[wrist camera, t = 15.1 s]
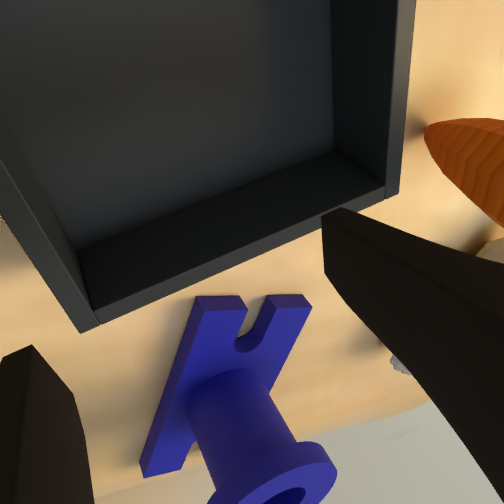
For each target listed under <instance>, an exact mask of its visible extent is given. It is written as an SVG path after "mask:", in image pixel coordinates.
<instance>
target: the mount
mask: <svg viewBox="0 0 504 504" xmlns="http://www.w3.org/2000/svg"><path fill="white" fill-rule="evenodd" d="M311 309H312V306H311V305H310V303H309V302H308V301H307V300H306V298H305V297H304V296H303V295H267V297H266V299H265V302H264V304H263V306H262V308H261V311H260V313H259V315H258V318H257V320H256V322H255V324H254V327H253V328H252V330H251V331H250V332H249V333H248V334H246V335H245V336H243V337H240V338H236V337H237V335H238V333H239V330H240V328H241V326H242V323H243V321H244V318H245V316H246V314H247V311H248V309H247V307H246V305H245V304H244V302H243V301H242V299H241V298H240V296H197V297H196V300H195V303H194V305H193V308H192V311H191V314H190V317H189V320H188V323H187V326H186V329H185V331H184V334H183V337H182V340H181V343H180V346H179V349H178V352H177V355H176V357H175V360H174V363H173V366H172V369H171V372H170V375H169V378H168V381H167V383H166V386H165V389H164V392H163V395H162V398H161V401H160V404H159V407H158V409H157V412H156V415H155V418H154V421H153V424H152V427H151V430H150V433H149V435H148V438H147V441H146V444H145V447H144V450H143V453H142V456H141V459H140V462H139V463H140V467H141V470H142V474H143V478H148V477H152V476H156V475H160V474H164V473H168V472H173V471H177V470H181V468H182V466H183V463H184V461H185V458H186V456H187V454H188V451H189V449H190V447H191V445H192V444H193V443H194V442H195V441H197V442H198V445H199V448H200V450H201V453H202V455H203V458H204V460H205V463H206V465H207V468H208V470H209V473H210V476H211V478H212V481H213V483H214V486H215V488H216V491H215V492H214V494H213V495H212V496H211V498H210V499H209V501H208V503H207V504H319V502H321V500H322V499H323V498H324V497H325V496H326V495H327V494H328V492H329V491H330V489H331V488H332V486H333V484H334V483H335V480H336V477H337V470H336V468H335V466H334V464H333V463H332V461H331V460H330V458H329V456H328V455H327V453H326V452H325V450H324V448H323V447H322V446H321V445H320V444H318V443H315V442H308V441H306V442H296V440H295V438H294V437H293V435H292V433H291V432H290V430H289V428H288V426H287V425H286V423H285V421H284V419H283V418H282V416H281V414H280V412H279V411H278V409H277V407H276V406H275V404H274V402H273V400H272V399H271V397H270V395H269V392H270V390H271V388H272V387H273V385H274V383H275V381H276V379H277V377H278V375H279V373H280V371H281V369H282V367H283V365H284V363H285V361H286V359H287V357H288V355H289V353H290V351H291V349H292V347H293V345H294V343H295V341H296V339H297V337H298V335H299V333H300V331H301V329H302V327H303V325H304V323H305V321H306V319H307V317H308V315H309V313H310V311H311Z"/></svg>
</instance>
